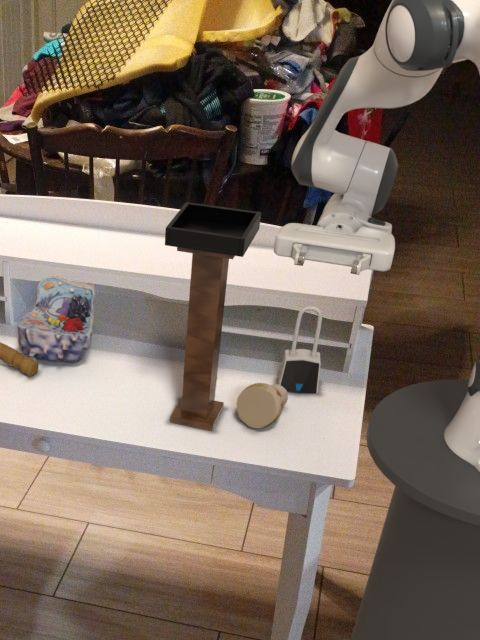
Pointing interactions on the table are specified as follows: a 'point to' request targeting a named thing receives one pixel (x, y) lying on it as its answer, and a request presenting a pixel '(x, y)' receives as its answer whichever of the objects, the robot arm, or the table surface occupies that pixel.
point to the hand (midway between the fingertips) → (326, 265)
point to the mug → (261, 404)
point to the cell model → (58, 321)
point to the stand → (203, 340)
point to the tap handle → (18, 360)
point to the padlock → (302, 362)
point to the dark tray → (213, 229)
